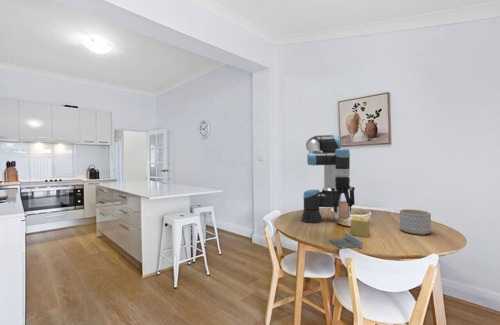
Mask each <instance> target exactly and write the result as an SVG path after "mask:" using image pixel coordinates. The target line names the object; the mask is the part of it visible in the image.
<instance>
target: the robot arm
mask: <svg viewBox="0 0 500 325" xmlns="http://www.w3.org/2000/svg"><path fill="white" fill-rule="evenodd" d="M305 148H306V150H307V151H308V153H307V154H306V155H307V156H306V159H307V160H306V161H307V162H306V163H307V166H323V168H324V169H323V170H324V171H323V175H324V176H323V178H324V180H323V182H324V183H323V188H322V189H321V191H320V189H308V190H305V191H304V192H303V211H302V214H301V217H300V218H301V221H302V222H305V223H308V224H309V223H310V224H318V223H322V220H323V217H322V215H321V212H320V208H333V212H334V217H335V219H339V207H338V202H339V201H342V194H343V195H344V198H345V202H348V219H351V212H352V207H353V206H354V205H355V187H354V186H351V184H350V181H351V179H350V174H351V173H350V166H351V165H350V164H351V162H350V160H351V158H350V157H351V154H350V149H349V148H342V143H341V140H340V137H339V135H337V134H325V135H324V134H323V135H314V136H311V138H309V139H307V141H306V143H305ZM339 220H340V219H339Z"/></svg>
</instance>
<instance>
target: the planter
mask: <svg viewBox="0 0 500 325" xmlns="http://www.w3.org/2000/svg"><path fill="white" fill-rule="evenodd" d="M431 218H432V214H431V213H430V212H428V211H425V210H420V209H405V208H404V209H401V210H399V229H400V230H401V231H403V232H404V233H407V234H411V235H415V234H416V236H424V235H425V234H426V235H428V234H430V233H431V227H432V219H431ZM426 235H425V236H426Z"/></svg>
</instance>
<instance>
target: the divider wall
mask: <svg viewBox="0 0 500 325" xmlns="http://www.w3.org/2000/svg"><path fill="white" fill-rule="evenodd" d="M343 235H344V238H343V239H345V240H346V241H347V240H348V242H350V243H351V244H353V245H354V246H356V247H357V248H359V249H363V241H362V240H361V239H359V238H357V236H355V235H351V233H349V232H346V231H344V234H343Z"/></svg>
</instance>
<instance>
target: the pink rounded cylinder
mask: <svg viewBox="0 0 500 325" xmlns="http://www.w3.org/2000/svg"><path fill="white" fill-rule="evenodd" d="M338 207H339V220H342V221H343V220H344V221H345V220H348V219H349V218H348V202H346V200H345V201H344V200H340V201H339V202H338Z"/></svg>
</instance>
